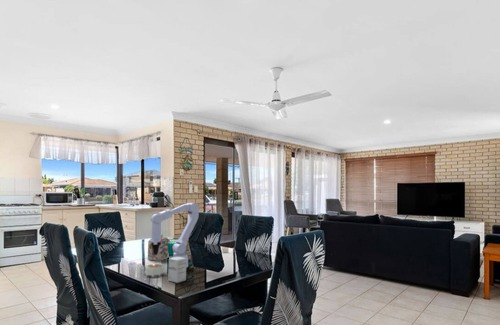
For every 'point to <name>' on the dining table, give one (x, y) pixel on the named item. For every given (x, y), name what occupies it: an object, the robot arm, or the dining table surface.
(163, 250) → the decorative jar
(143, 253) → the dining table surface
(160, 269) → the octagonal hollow frame
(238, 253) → the dining table surface
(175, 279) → the supplement box
